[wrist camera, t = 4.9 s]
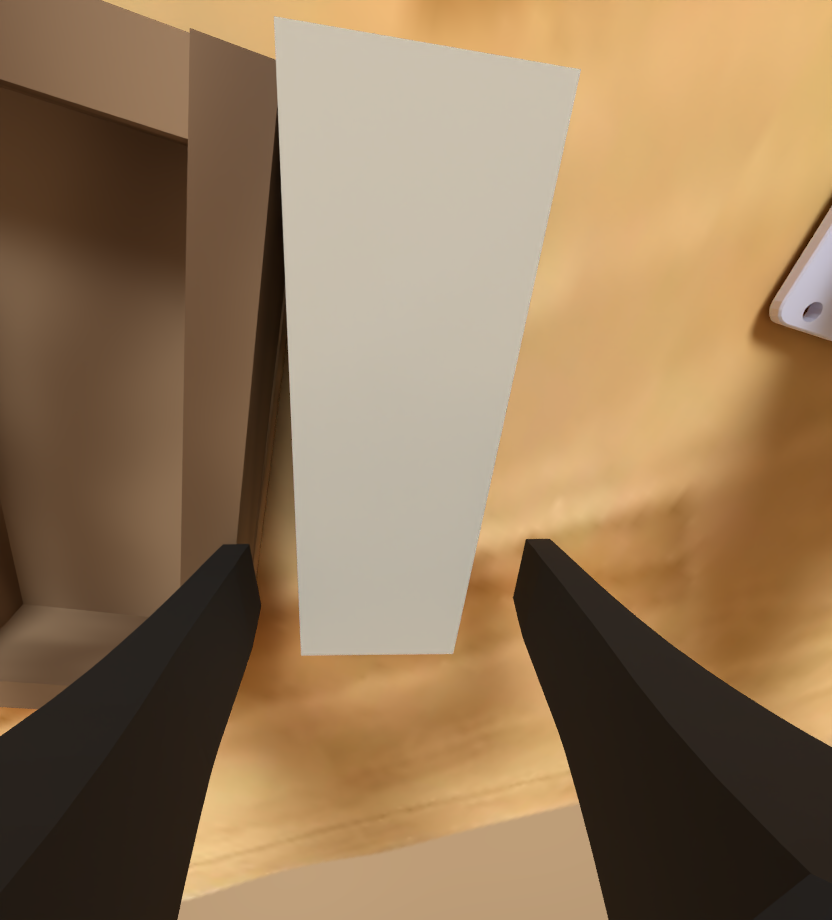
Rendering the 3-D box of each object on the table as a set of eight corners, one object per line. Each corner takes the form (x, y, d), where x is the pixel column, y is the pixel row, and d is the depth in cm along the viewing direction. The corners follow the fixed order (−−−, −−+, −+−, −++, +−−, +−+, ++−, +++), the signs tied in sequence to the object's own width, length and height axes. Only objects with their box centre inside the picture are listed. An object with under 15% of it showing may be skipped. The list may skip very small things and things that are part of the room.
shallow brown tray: (314, 118, 9) (285, 62, 6) (249, 627, 16) (221, 721, 13) (-149, -43, 7) (-518, -234, 4) (8, 602, 15) (-89, 702, 11)
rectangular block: (496, 133, 10) (581, 69, 6) (432, 544, 15) (453, 653, 11) (316, 106, 9) (274, 16, 5) (320, 541, 15) (301, 655, 11)
